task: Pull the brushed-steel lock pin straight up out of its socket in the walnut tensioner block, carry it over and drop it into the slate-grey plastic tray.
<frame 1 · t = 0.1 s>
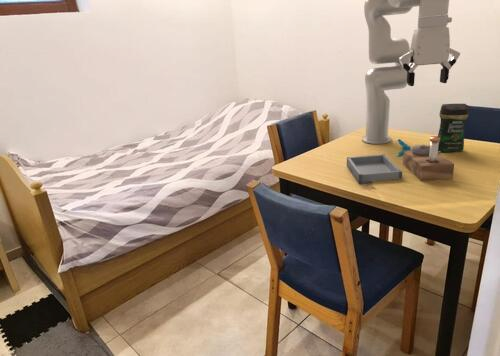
hand: (426, 84, 111), 31 cm above the table, tool pointing down, fingers open, 9 cm apart
tensioner block: (425, 173, 125), on the table
lock pin: (431, 175, 121), point 1 cm above the table, touching tensioner block
tray: (372, 173, 130), on the table
gear: (406, 158, 141), on the table
coffee jar: (449, 151, 144), on the table
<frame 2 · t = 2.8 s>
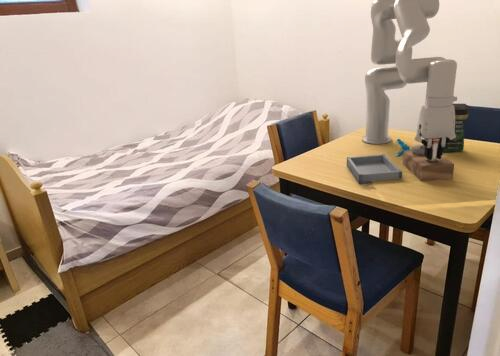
hand: (432, 157, 119), 7 cm above the table, tool pointing down, fingers closed on lock pin, 2 cm apart
lock pin: (431, 175, 121), point 1 cm above the table, touching gripper, tensioner block
everything else where it was.
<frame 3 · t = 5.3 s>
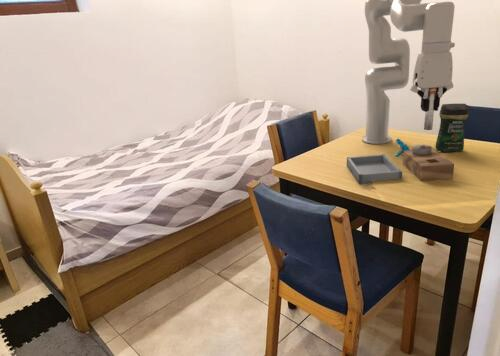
hand: (429, 109, 114), 23 cm above the table, tool pointing down, fingers closed on lock pin, 2 cm apart
lock pin: (428, 129, 116), point 17 cm above the table, touching gripper
everything else where it was.
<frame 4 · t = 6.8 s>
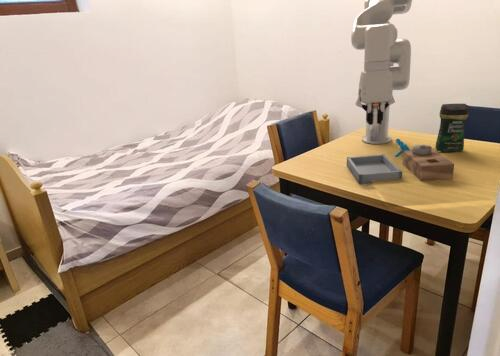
hand: (374, 123, 123), 18 cm above the table, tool pointing down, fingers closed on lock pin, 2 cm apart
lock pin: (373, 140, 125), point 12 cm above the table, touching gripper
everything else where it was.
when the fingers open (10 cm above the table, at t = 7.9 s): lock pin drops 2 cm, resting on tray.
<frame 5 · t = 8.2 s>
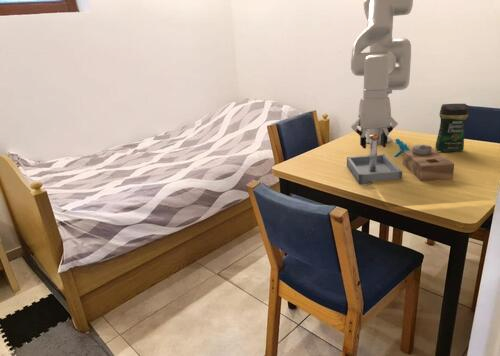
hand: (373, 146, 126), 10 cm above the table, tool pointing down, fingers open, 6 cm apart
lock pin: (372, 170, 129), point 1 cm above the table, touching tray
everything else where it was.
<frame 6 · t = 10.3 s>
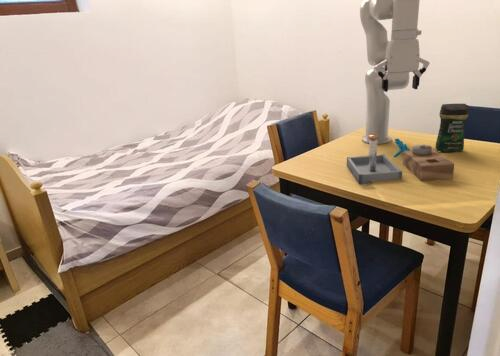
hand: (399, 89, 123), 28 cm above the table, tool pointing down, fingers open, 9 cm apart
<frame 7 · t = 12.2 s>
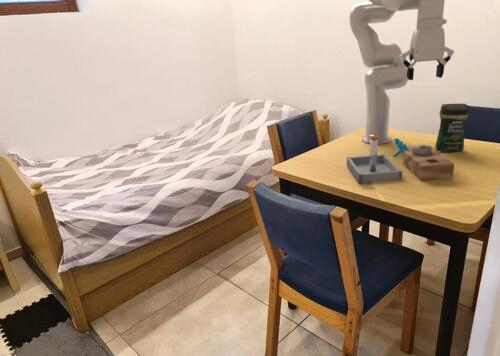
hand: (424, 78, 125), 30 cm above the table, tool pointing down, fingers open, 9 cm apart
at the end: lock pin inside the target area on the tray (0.2 cm from its centre), point 1.0 cm above the tray's base; the gripper is holding nothing; lock pin touching tray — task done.
